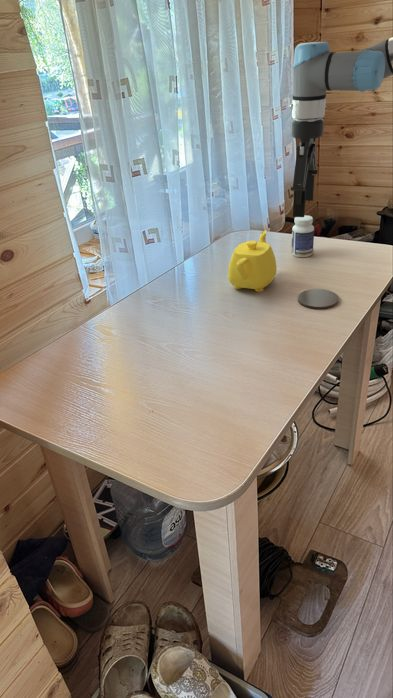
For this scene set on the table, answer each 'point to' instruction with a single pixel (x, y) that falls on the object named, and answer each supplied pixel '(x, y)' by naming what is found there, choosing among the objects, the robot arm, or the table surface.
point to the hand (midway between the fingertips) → (303, 208)
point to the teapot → (252, 265)
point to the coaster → (318, 299)
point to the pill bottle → (302, 236)
